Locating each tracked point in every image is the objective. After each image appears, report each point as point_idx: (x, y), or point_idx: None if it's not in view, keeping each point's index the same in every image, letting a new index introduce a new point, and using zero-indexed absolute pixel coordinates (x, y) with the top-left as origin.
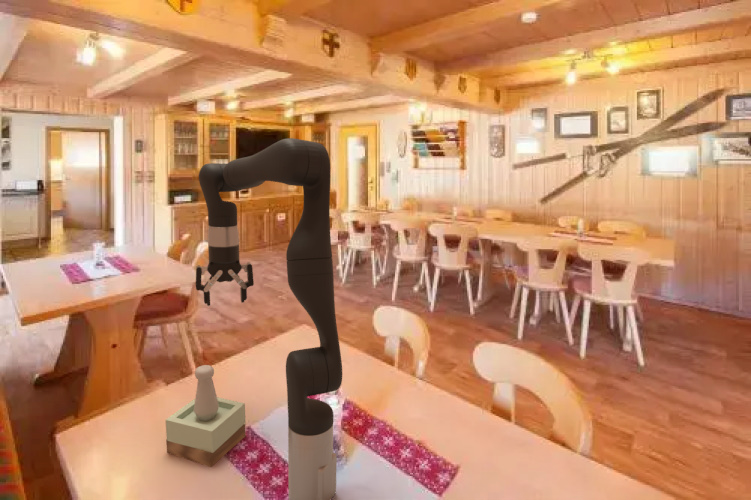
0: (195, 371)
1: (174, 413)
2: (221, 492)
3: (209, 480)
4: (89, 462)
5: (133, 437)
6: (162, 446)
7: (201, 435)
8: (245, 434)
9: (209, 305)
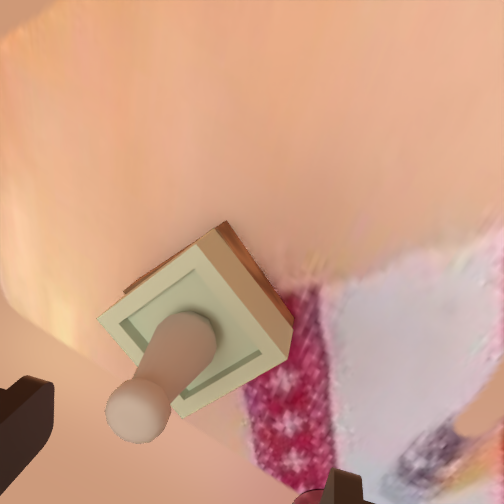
0: (105, 413)
1: (117, 304)
2: (204, 431)
3: None
4: (9, 229)
5: (78, 186)
6: (131, 254)
7: None
8: (293, 320)
9: (45, 431)
